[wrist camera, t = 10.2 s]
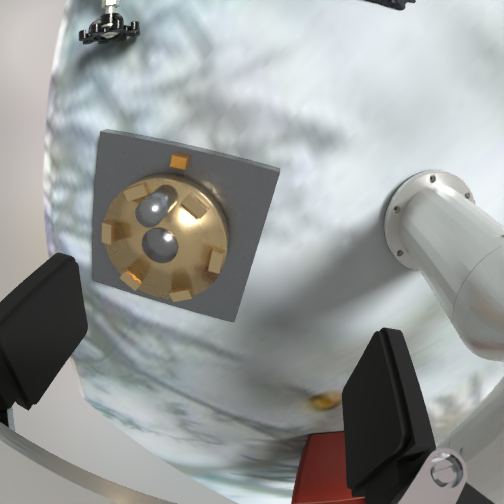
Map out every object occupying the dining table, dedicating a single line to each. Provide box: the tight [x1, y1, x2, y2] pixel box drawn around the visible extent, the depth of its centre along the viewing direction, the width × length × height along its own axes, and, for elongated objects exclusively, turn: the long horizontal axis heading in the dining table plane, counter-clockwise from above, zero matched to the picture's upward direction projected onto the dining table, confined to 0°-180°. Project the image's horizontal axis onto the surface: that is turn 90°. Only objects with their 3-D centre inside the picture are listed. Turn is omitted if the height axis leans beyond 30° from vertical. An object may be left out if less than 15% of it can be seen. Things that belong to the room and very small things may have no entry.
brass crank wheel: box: [102, 174, 229, 302], centre depth 32 cm, size 14×14×8 cm
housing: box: [92, 129, 280, 322], centre depth 36 cm, size 20×20×3 cm
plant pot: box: [291, 432, 365, 504], centre depth 50 cm, size 19×19×17 cm
